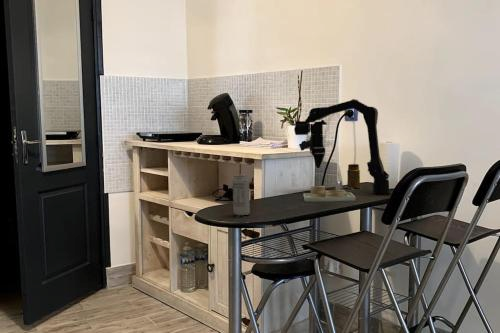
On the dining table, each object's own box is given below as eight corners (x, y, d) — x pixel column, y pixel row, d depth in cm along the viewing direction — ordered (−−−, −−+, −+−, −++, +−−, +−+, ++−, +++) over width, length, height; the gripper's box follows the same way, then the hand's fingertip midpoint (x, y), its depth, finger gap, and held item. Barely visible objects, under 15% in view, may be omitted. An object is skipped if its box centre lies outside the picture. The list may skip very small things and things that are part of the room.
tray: (350, 196, 224) (350, 192, 224) (355, 201, 210) (355, 196, 210) (303, 197, 225) (303, 193, 225) (304, 202, 211) (304, 197, 211)
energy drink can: (253, 214, 185) (252, 174, 184) (242, 217, 181) (240, 176, 180) (241, 213, 189) (240, 173, 188) (230, 215, 185) (228, 175, 184)
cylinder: (341, 193, 233) (341, 180, 232) (342, 194, 230) (342, 181, 229) (335, 193, 233) (335, 181, 232) (335, 194, 230) (335, 181, 229)
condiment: (363, 187, 251) (363, 164, 250) (353, 189, 245) (353, 165, 244) (351, 187, 256) (350, 163, 255) (341, 188, 250) (341, 164, 249)
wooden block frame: (344, 195, 222) (344, 184, 221) (347, 198, 213) (346, 187, 212) (310, 196, 223) (310, 185, 222) (311, 199, 214) (311, 188, 213)
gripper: (299, 134, 247) (299, 166, 249) (300, 135, 229) (301, 169, 230) (321, 134, 247) (322, 165, 248) (325, 134, 228) (325, 169, 229)
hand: (317, 167), depth 239 cm, fingers open, 9 cm apart
